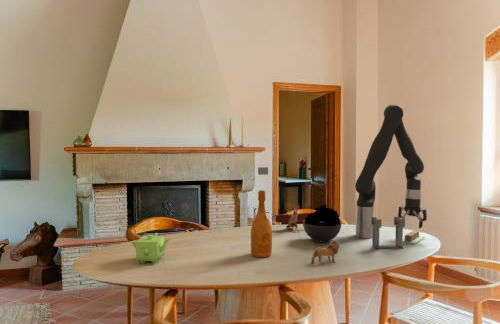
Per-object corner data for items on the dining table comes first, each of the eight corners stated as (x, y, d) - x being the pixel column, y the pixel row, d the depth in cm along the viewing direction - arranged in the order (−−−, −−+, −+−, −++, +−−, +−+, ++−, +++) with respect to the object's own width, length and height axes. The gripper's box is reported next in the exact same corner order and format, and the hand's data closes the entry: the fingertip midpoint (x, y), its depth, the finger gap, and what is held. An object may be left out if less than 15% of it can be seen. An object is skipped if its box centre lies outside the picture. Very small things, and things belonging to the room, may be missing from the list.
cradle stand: (375, 250, 181) (376, 219, 180) (370, 246, 187) (370, 217, 187) (404, 249, 182) (405, 219, 182) (398, 246, 189) (399, 216, 188)
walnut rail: (410, 241, 195) (410, 236, 195) (404, 241, 197) (404, 235, 197) (418, 236, 206) (419, 231, 206) (413, 235, 208) (413, 230, 208)
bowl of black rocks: (325, 248, 183) (325, 210, 182) (294, 240, 198) (295, 205, 197) (348, 242, 196) (349, 206, 195) (318, 235, 211) (318, 202, 210)
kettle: (157, 253, 173) (157, 229, 172) (174, 260, 163) (174, 235, 162) (126, 260, 162) (126, 234, 162) (143, 268, 152) (143, 241, 152)
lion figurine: (333, 258, 167) (334, 238, 167) (342, 261, 162) (342, 241, 162) (307, 263, 160) (307, 242, 160) (315, 266, 155) (315, 245, 155)
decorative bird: (280, 230, 206) (276, 204, 211) (268, 236, 222) (264, 211, 227) (324, 227, 216) (319, 202, 221) (309, 232, 232) (305, 209, 237)
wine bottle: (257, 259, 165) (257, 192, 164) (246, 253, 174) (247, 189, 172) (275, 256, 169) (276, 191, 168) (265, 251, 178) (265, 188, 177)
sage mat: (415, 244, 192) (415, 243, 192) (399, 241, 197) (399, 240, 197) (424, 238, 205) (424, 237, 205) (409, 235, 210) (409, 234, 210)
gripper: (428, 198, 200) (427, 227, 201) (401, 195, 209) (400, 223, 209) (425, 199, 194) (424, 230, 195) (397, 196, 203) (396, 226, 203)
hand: (411, 226), depth 202 cm, fingers open, 8 cm apart
